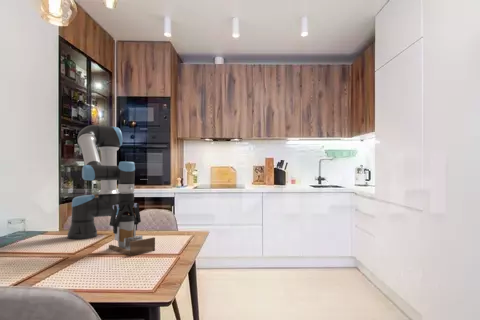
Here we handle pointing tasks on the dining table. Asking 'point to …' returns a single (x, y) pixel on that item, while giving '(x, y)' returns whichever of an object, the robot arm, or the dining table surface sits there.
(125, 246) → the pusher
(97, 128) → the robot arm
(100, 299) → the dining table surface
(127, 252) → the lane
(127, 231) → the coffee cup
